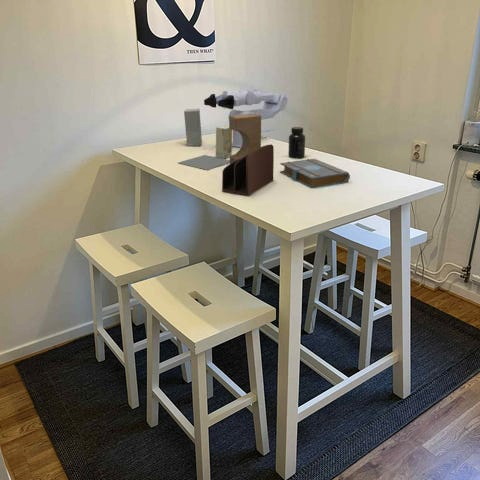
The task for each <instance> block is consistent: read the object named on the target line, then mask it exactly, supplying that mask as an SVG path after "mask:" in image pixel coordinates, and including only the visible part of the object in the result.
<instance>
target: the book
mask: <svg viewBox="0 0 480 480" xmlns="http://www.w3.org/2000/svg"><path fill="white" fill-rule="evenodd" d="M279 165H280V166H283V167H284V169H283V170H281V171H280V170H279V174H282V175H283V176H286V177H287V178H289V179H291V180H292V181H294V182H297V183H300V184H301V185H303V186H305V187H307V188H310V189H316V188H322V187H329V186H335V185H341V184H347V183H348V182H349V180H350V179H351V175H350V173H349V172H348V171H346V170H344V169H341V168H339V167H336V166H333V165H332V164H328V163H326V162H324V161H321V160H319V159H317V158H307V159H301V160H295V161H294V160H293V161H286V162H280V163H279Z"/></svg>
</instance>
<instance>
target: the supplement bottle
mask: <svg viewBox="0 0 480 480" xmlns="http://www.w3.org/2000/svg"><path fill="white" fill-rule="evenodd" d="M305 154H306V135H305V134H304V128H303V127H301V126H294V127H291V133H290V134H289V136H288V157H289V158H291V159H303V158H304V157H305V156H306V155H305Z"/></svg>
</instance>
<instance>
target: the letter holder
mask: <svg viewBox="0 0 480 480" xmlns="http://www.w3.org/2000/svg"><path fill="white" fill-rule="evenodd" d="M274 151H275V150H274V145H273V144H270V143H269V144H265V145H263V146H262V145H261V147H260V148H258V149H256V150H254V151H253V152H252V153H250V154H248V155H246V156H244V157H243V158H240V159H238V160H236V161H234V162H232V163H231V164H230V163H229V164H227V165H226V166H225V167H224V168H222V173H221V174H222V177H221V179H222V181H221V185H222V187H221V192H222V193H225V194H226V193H227V194H232V195H238V196H242V195H243V197H249V196H251V195H252V194H254V193H255V192H257V191H259V190H260V189H263V188H264V187H266V186H268V184H270V183H272V182H273V181H274V167H275V166H274V164H275V162H274V160H275V159H274V157H275V156H274V154H275V153H274Z"/></svg>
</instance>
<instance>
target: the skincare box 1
mask: <svg viewBox="0 0 480 480" xmlns="http://www.w3.org/2000/svg"><path fill="white" fill-rule="evenodd" d="M200 112H201V111H200V108H187V109H184V111H183V115H184V126H185V127H184V128H185V137H186V146H187V147H201V146H202V144H203V138H202V127H201V126H202V125H201V124H202V123H201V113H200Z"/></svg>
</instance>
